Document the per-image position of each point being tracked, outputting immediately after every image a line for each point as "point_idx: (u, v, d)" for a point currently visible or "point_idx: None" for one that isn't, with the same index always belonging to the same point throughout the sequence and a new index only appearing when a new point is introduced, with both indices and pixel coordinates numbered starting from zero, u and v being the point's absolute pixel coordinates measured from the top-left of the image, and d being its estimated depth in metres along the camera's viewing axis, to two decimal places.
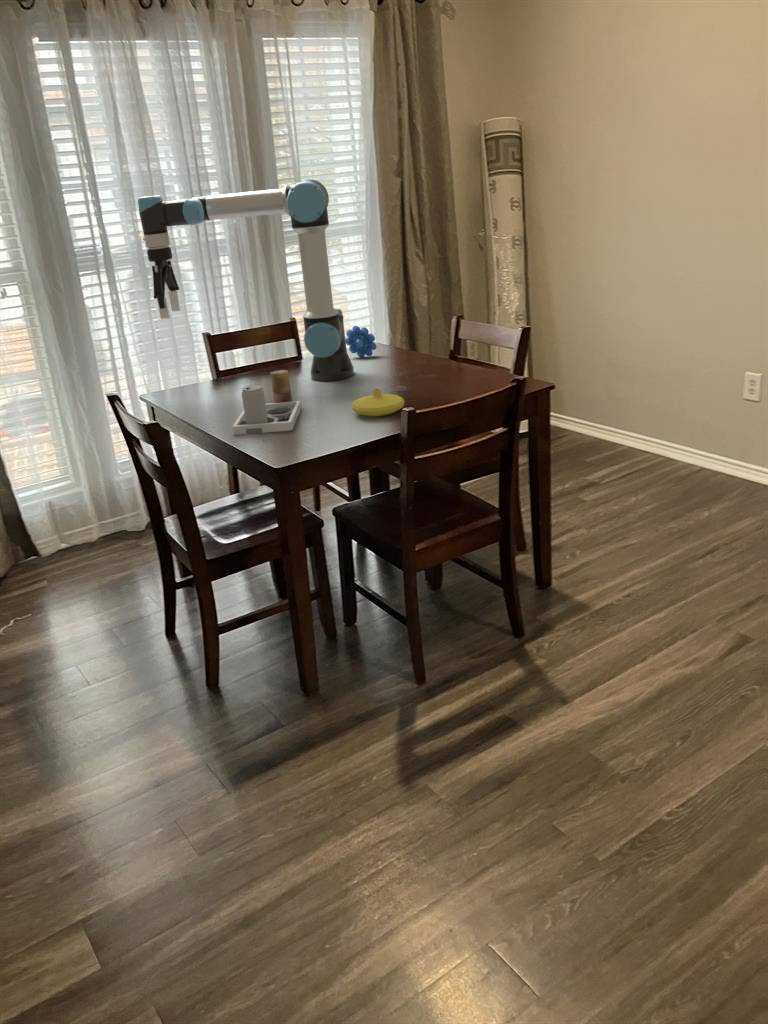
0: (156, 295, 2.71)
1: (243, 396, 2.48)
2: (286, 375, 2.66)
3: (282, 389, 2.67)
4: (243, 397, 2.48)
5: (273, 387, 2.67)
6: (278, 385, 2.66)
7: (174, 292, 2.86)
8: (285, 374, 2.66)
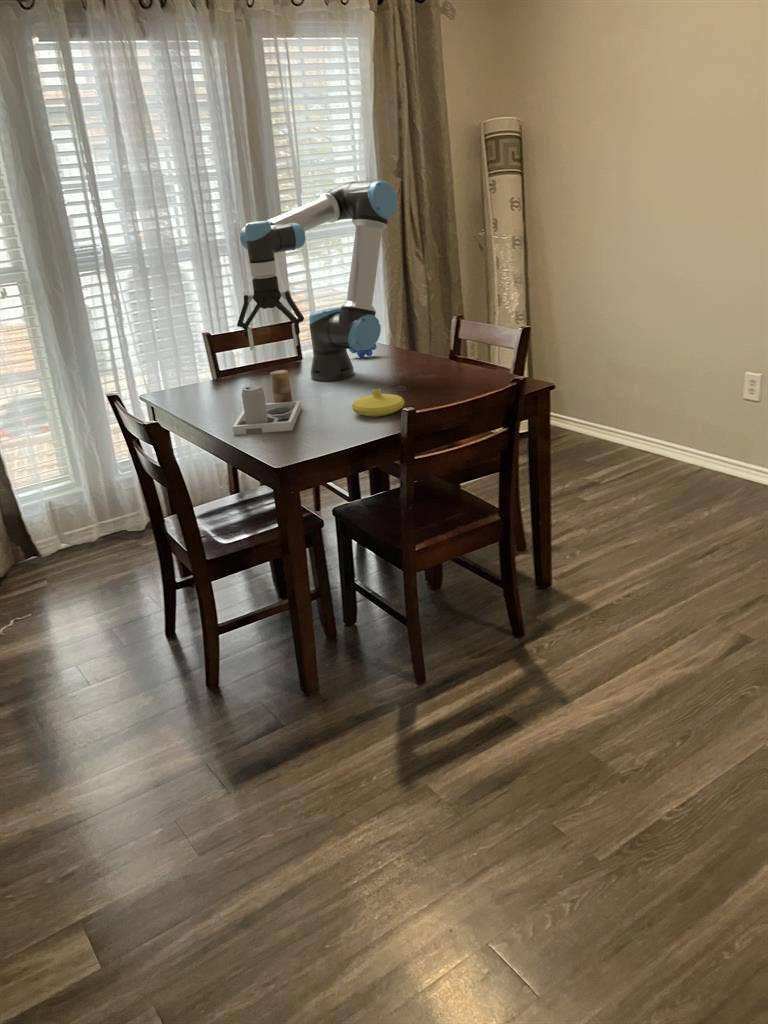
0: None
1: (243, 396, 2.48)
2: (286, 375, 2.66)
3: (282, 389, 2.67)
4: (243, 397, 2.48)
5: (273, 387, 2.67)
6: (278, 385, 2.66)
7: (292, 326, 2.61)
8: (285, 374, 2.66)
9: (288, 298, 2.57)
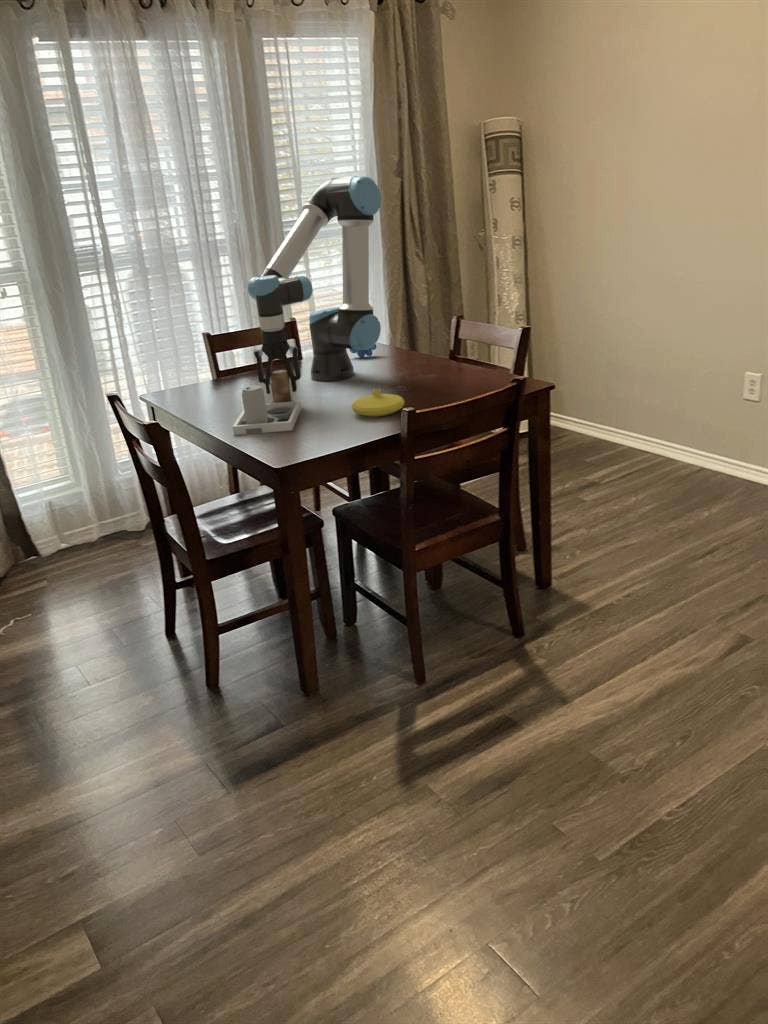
0: None
1: (243, 396, 2.48)
2: (286, 375, 2.66)
3: (282, 389, 2.67)
4: (243, 397, 2.48)
5: (273, 387, 2.67)
6: (278, 385, 2.66)
7: (289, 383, 2.68)
8: (285, 374, 2.66)
9: (294, 354, 2.64)
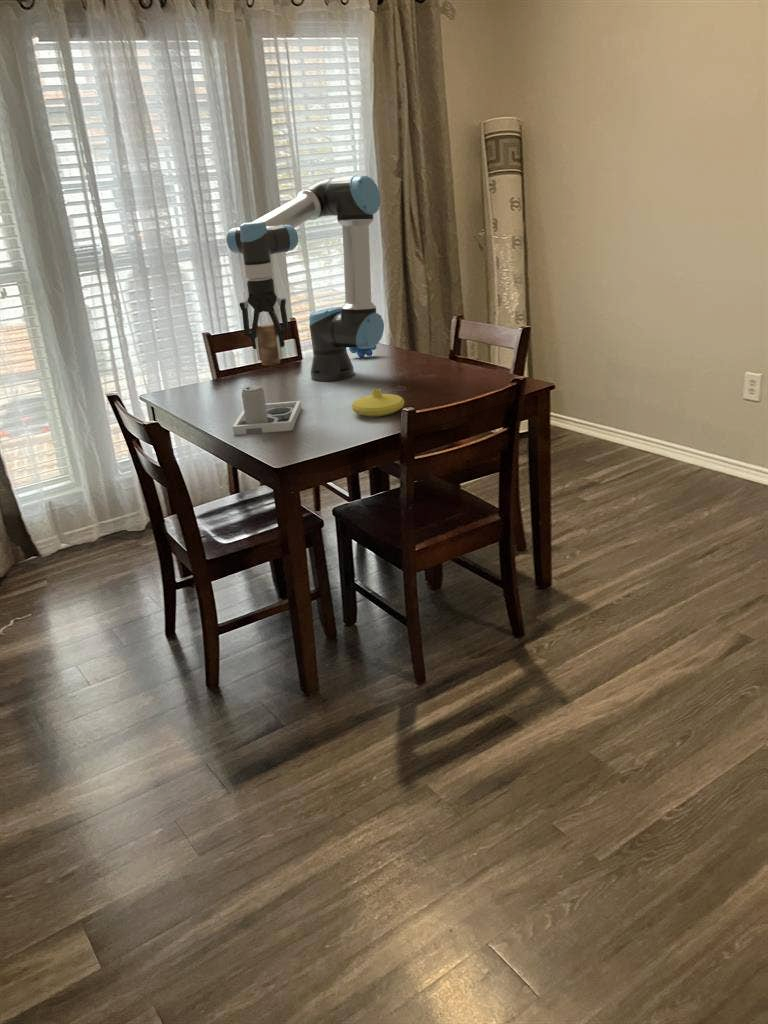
0: None
1: (243, 396, 2.48)
2: (273, 329, 2.51)
3: (268, 343, 2.52)
4: (243, 397, 2.48)
5: (259, 341, 2.53)
6: (264, 339, 2.51)
7: None
8: (272, 327, 2.51)
9: (282, 306, 2.49)
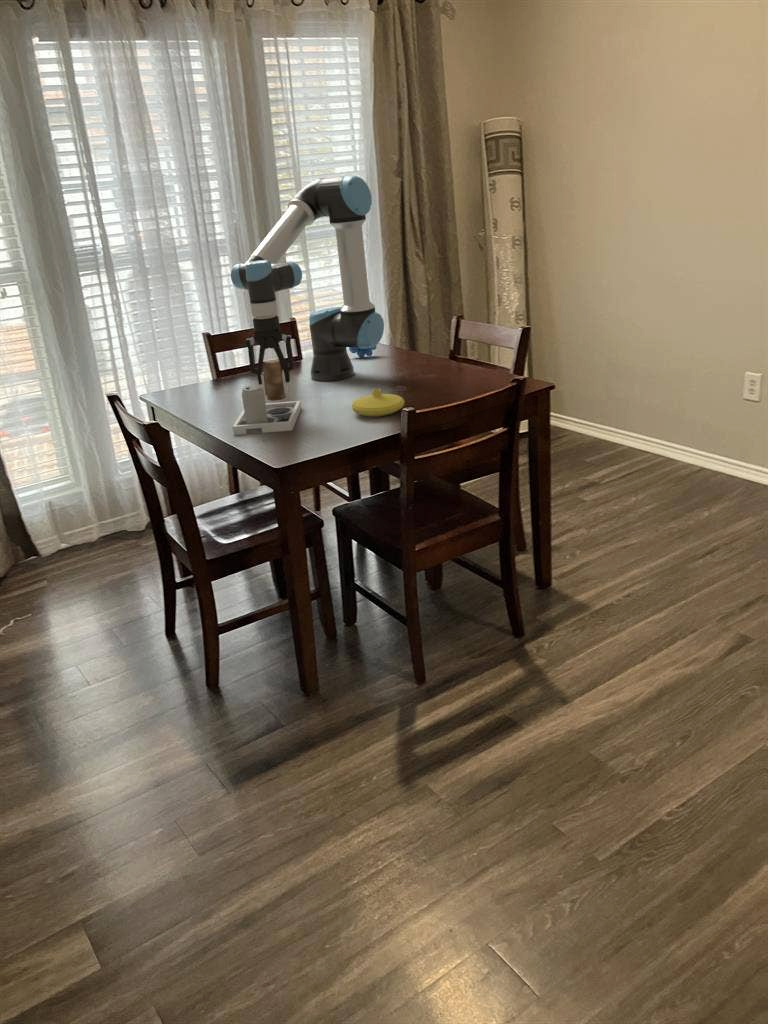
0: None
1: (243, 396, 2.48)
2: (279, 365, 2.55)
3: (274, 379, 2.55)
4: (243, 397, 2.48)
5: (265, 377, 2.56)
6: (270, 375, 2.55)
7: (282, 373, 2.57)
8: (278, 364, 2.54)
9: (288, 343, 2.52)
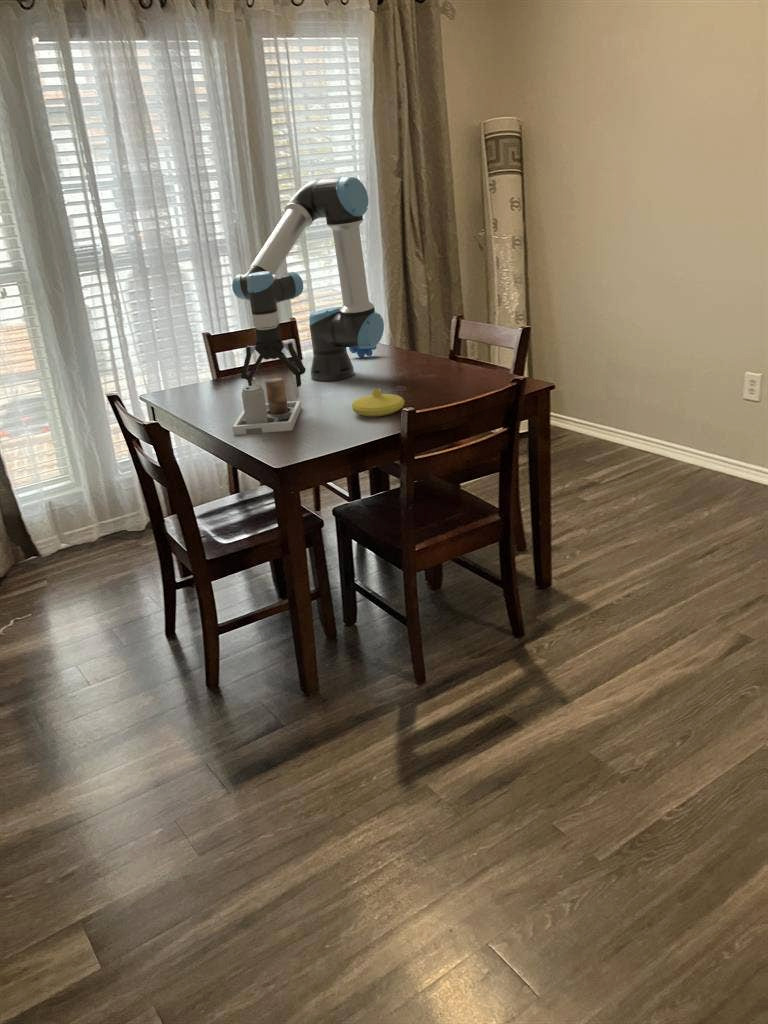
0: None
1: (243, 396, 2.48)
2: (282, 383, 2.57)
3: (277, 398, 2.57)
4: (243, 397, 2.48)
5: (268, 396, 2.58)
6: (273, 394, 2.57)
7: (293, 378, 2.57)
8: (281, 382, 2.57)
9: (291, 350, 2.53)
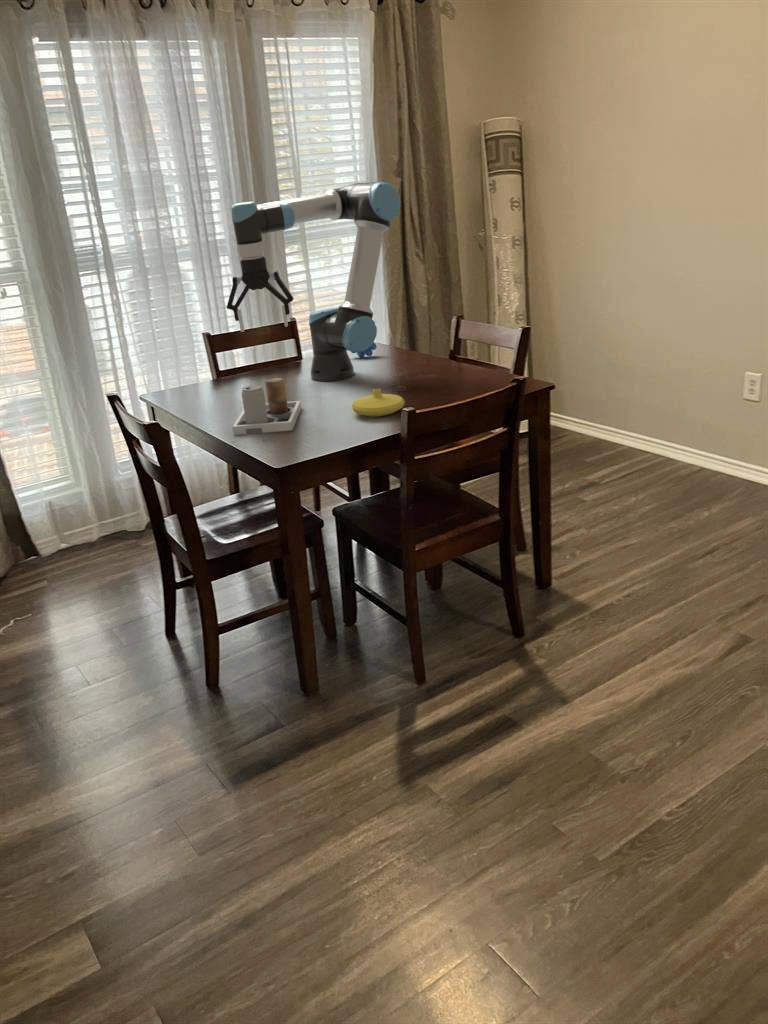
0: None
1: (243, 396, 2.48)
2: (282, 383, 2.57)
3: (277, 398, 2.57)
4: (243, 397, 2.48)
5: (268, 396, 2.58)
6: (273, 394, 2.57)
7: None
8: (281, 382, 2.57)
9: (277, 278, 2.58)
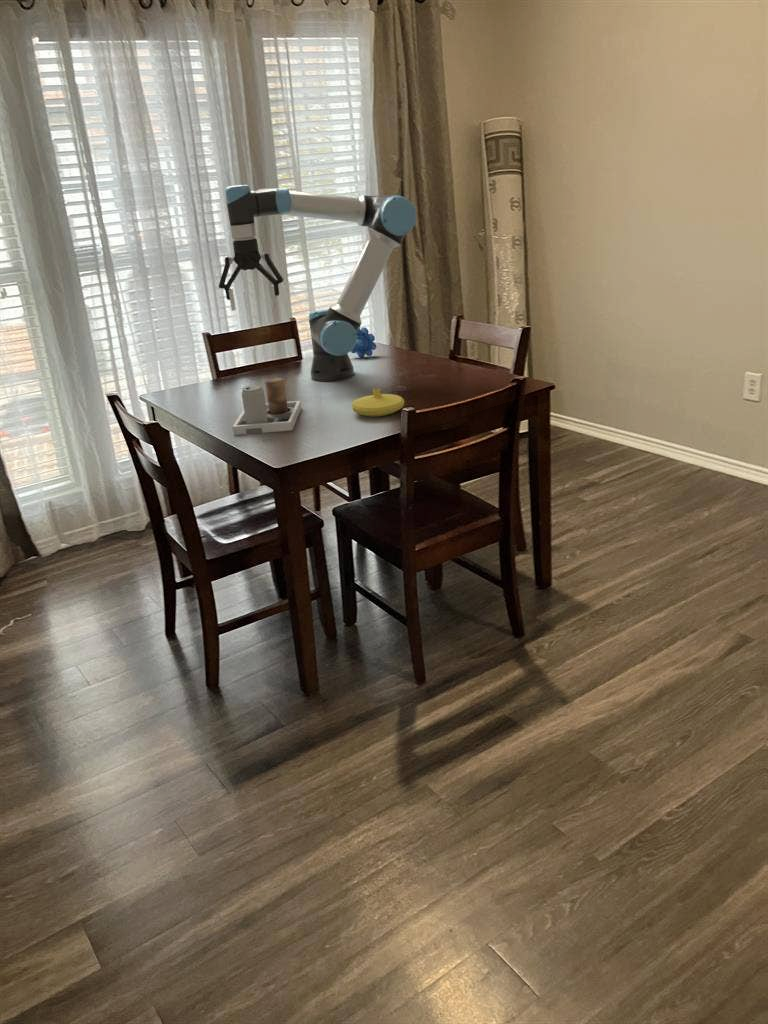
0: None
1: (243, 396, 2.48)
2: (282, 383, 2.57)
3: (277, 398, 2.57)
4: (243, 397, 2.48)
5: (268, 396, 2.58)
6: (273, 394, 2.57)
7: None
8: (281, 382, 2.57)
9: (267, 260, 2.68)
